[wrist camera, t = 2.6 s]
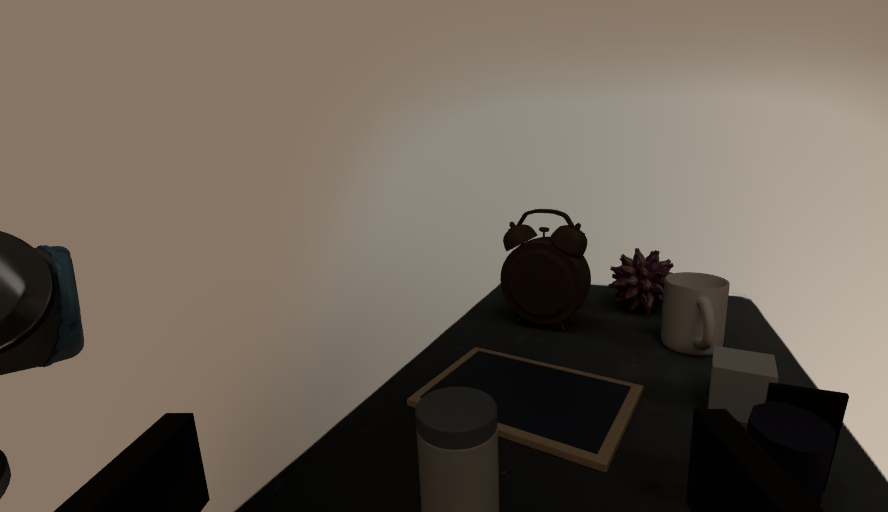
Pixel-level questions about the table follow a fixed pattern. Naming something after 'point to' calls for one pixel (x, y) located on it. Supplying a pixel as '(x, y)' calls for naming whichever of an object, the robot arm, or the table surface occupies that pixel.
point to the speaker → (800, 432)
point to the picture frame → (547, 404)
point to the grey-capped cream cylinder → (458, 451)
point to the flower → (641, 280)
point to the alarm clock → (545, 271)
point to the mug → (694, 313)
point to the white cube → (740, 380)
